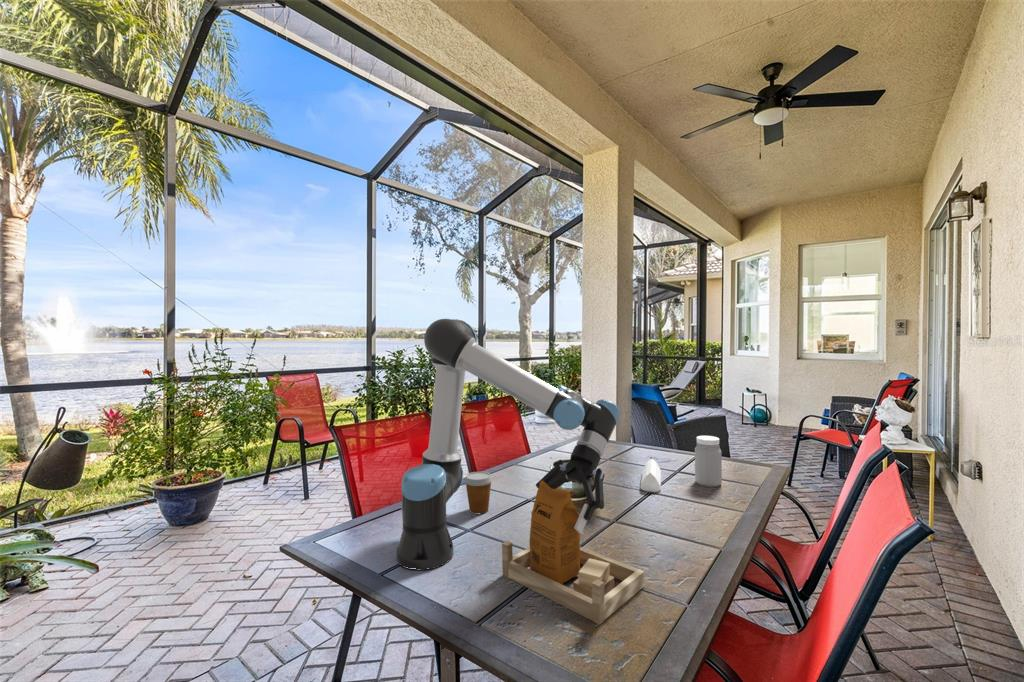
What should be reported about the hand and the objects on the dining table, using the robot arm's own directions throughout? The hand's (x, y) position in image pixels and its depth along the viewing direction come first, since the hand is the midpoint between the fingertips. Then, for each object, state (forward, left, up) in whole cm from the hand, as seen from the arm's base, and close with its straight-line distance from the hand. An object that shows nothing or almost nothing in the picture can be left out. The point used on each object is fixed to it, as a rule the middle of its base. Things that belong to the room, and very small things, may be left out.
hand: (555, 523), depth 113 cm
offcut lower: (0, -11, -13) cm, 17 cm away
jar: (+92, -2, -13) cm, 93 cm away
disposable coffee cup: (+14, +45, -13) cm, 48 cm away
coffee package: (0, +1, -13) cm, 13 cm away
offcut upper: (0, -11, -10) cm, 15 cm away
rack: (0, -5, -12) cm, 13 cm away
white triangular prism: (+79, +15, -13) cm, 81 cm away
